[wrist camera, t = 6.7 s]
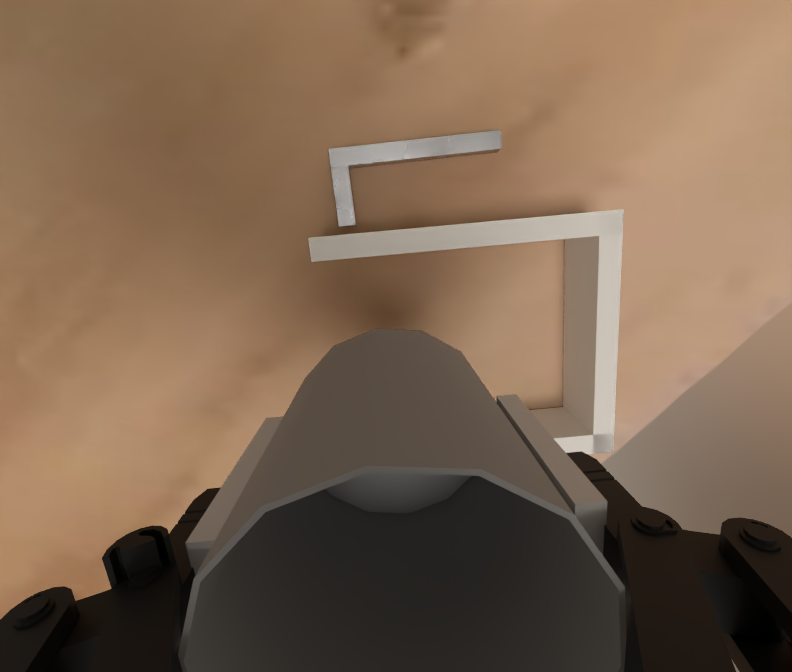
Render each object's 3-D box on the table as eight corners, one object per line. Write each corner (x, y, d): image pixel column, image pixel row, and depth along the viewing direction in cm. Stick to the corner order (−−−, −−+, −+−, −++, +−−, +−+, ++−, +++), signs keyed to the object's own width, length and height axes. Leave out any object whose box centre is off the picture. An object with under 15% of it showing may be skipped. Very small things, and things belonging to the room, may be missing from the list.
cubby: (346, 443, 34) (340, 477, 29) (320, 238, 30) (308, 237, 25) (580, 421, 34) (613, 451, 29) (584, 214, 30) (623, 209, 25)
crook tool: (340, 227, 30) (339, 226, 28) (330, 152, 28) (328, 148, 27) (499, 209, 30) (504, 208, 28) (496, 134, 28) (500, 129, 27)
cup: (386, 286, 16) (394, 363, 6) (528, 411, 17) (718, 636, 7) (256, 432, 17) (89, 692, 7) (398, 537, 18) (417, 868, 9)
